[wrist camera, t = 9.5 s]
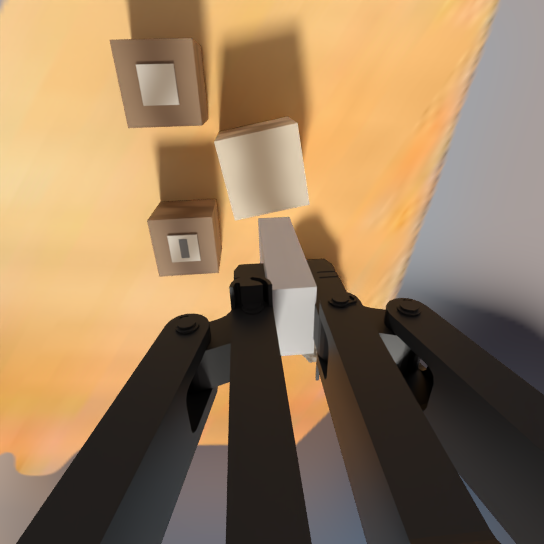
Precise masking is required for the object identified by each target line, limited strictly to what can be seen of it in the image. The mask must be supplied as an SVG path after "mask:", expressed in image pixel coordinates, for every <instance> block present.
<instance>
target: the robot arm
mask: <svg viewBox="0 0 544 544" xmlns="http://www.w3.org/2000/svg"><path fill="white" fill-rule="evenodd" d="M258 225H259V248H260V263H259V264H243V265H239V266H238V267H237V268H236V269H235V270H234V281H233V282H232V283H231V284H230V287H229V288H230V299H231V311H230V313H228V314H227V315H226V316H224V317H222V318H220V319H217V320H214V321H211V322H209V321H208V319H207V318H206V317H204V316H203V315H199V314H184V315H181V316H178V317H176V318H174V319H172V320H170V321H169V322H168V323H167V324H166V326H165V327H164V329H163V330H162V332H161V333H160V334H159V336H158V337H157V339H156V340H155V342H154V343H153V345H152V346H151V348H150V349H149V350H148V352H147V353H146V355H145V356H144V358H143V359H142V361H141V362H140V364H139V365H138V367H137V368H136V369H135V371H134V372H133V374H132V375H131V377H130V378H129V380H128V381H127V383H126V384H125V386H124V387H123V388H122V390H121V391H120V393H119V394H118V396H117V397H116V399H115V400H114V402H113V403H112V405H111V406H110V407H109V409H108V410H107V412H106V413H105V415H104V416H103V418H102V419H101V421H100V422H99V423H98V425H97V426H96V428H95V429H94V431H93V432H92V434H91V435H90V437H89V438H88V440H87V441H86V442H85V444H84V445H83V447H82V448H81V450H80V451H79V453H78V454H77V456H76V457H75V459H74V460H73V462H72V463H71V464H70V466H69V467H68V469H67V470H66V472H65V473H64V475H63V476H62V478H61V479H60V480H59V482H58V483H57V485H56V486H55V488H54V489H53V491H52V492H51V494H50V495H49V497H48V498H47V500H46V501H45V502H44V504H43V505H42V507H41V508H40V510H39V511H38V513H37V514H36V516H35V517H34V518H33V520H32V521H31V523H30V524H29V526H28V527H27V529H26V530H25V532H24V533H23V535H22V536H21V537H20V539H19V540H18V542H17V543H16V544H161V543H162V540H163V537H164V534H165V531H166V529H167V526H168V524H169V521H170V518H171V515H172V513H173V510H174V507H175V505H176V502H177V499H178V496H179V494H180V491H181V488H182V486H183V483H184V480H185V478H186V475H187V472H188V469H189V466H190V464H191V461H192V459H193V456H194V453H195V450H196V448H197V445H198V442H199V440H200V437H201V434H202V431H203V429H204V426H205V423H206V421H207V418H208V415H209V412H210V410H211V407H212V404H213V402H214V399H215V396H216V394H217V389H218V386H219V385H222V384H225V383H228V382H230V392H229V434H228V475H227V517H226V544H312V543H311V537H310V531H309V525H308V519H307V512H306V506H305V500H304V494H303V488H302V482H301V477H300V470H299V464H298V457H297V452H296V445H295V439H294V433H293V427H292V421H291V415H290V409H289V402H288V396H287V390H286V384H285V378H284V372H283V366H282V360H281V356H286V355H299V354H312V353H314V343H315V346H316V349H317V360H316V380H319V375H320V378H321V381H322V385H323V388H324V392H325V396H326V399H327V403H328V406H329V410H330V413H331V417H332V420H333V424H334V428H335V431H336V435H337V438H338V442H339V445H340V449H341V453H342V456H343V459H344V463H345V467H346V470H347V474H348V477H349V481H350V485H351V488H352V491H353V495H354V499H355V503H356V506H357V510H358V513H359V517H360V520H361V524H362V528H363V531H364V535H365V538H366V542H367V544H501V543H500V542H499V541H498V540H497V539H496V538H495V536H494V535H493V533H492V532H491V530H490V529H489V527H488V525H487V523H486V522H485V520H484V518H483V516H482V515H481V513H480V511H479V509H478V508H477V506H476V504H475V502H474V501H473V499H472V497H471V495H470V494H469V492H468V490H467V489H466V486H465V485H464V483H463V481H462V479H461V478H460V476H461V477H462V478H463V479H464V481H465V482H466V483H467V484H468V485H469V487H470V488H471V489H472V490H473V491H474V493H475V494H476V495H477V496H478V498H479V499H480V500H481V501H482V502H483V504H484V505H485V506H486V507H487V508H488V510H489V511H490V512H491V513H492V515H493V516H494V517H495V518H496V519H497V521H498V522H499V523H500V524H501V525H502V527H503V528H504V529H505V530H506V532H507V533H508V534H509V535H510V536H511V538H512V539H513V540H514V541H515V542H516V544H544V395H543V394H542V393H540V392H539V391H538V390H536V389H535V388H534V387H532V386H531V385H530V384H529V383H527V382H526V381H525V380H523V379H522V378H521V377H519V376H518V375H517V374H515V373H514V372H513V371H512V370H510V369H509V368H508V367H506V366H505V365H504V364H502V363H501V362H500V361H498V360H497V359H495V358H494V357H493V356H492V355H490V354H489V353H488V352H487V351H485V350H484V349H482V348H481V347H480V346H479V345H477V344H476V343H475V342H473V341H472V340H471V339H469V338H468V337H467V336H465V335H464V334H463V333H462V332H460V331H459V330H458V329H456V328H455V327H454V326H452V325H451V324H450V323H448V322H447V321H446V320H444V319H443V318H441V317H440V316H439V315H438V314H437V313H435V312H434V311H433V310H431V309H430V308H429V307H427V306H426V305H424V304H422V303H421V302H419V301H416V300H413V299H408V298H398V299H393V300H391V301H389V302H388V303H387V305H386V310H383V309H375V308H369V307H365V306H363V305H362V303H361V301H360V300H359V299H358V298H357V297H356V296H355V295H353V294H351V293H348V292H346V290H345V288H344V286H343V284H342V282H341V280H340V278H339V277H338V275H337V273H336V272H335V269H334V267H333V265H332V264H331V263H329V262H328V261H327V260H325V259H312V260H306V258H305V255H304V253H303V250H302V248H301V245H300V243H299V240H298V238H297V235H296V233H295V230H294V228H293V225H292V223H291V220H290V218H289V217H278V218H258ZM420 359H422V360H423V361H424V362H425V363H426V364H427V365H428V367H427V368H425V367H424V366H423V365H421V363H420ZM458 473H459V474H458ZM459 475H460V476H459Z"/></svg>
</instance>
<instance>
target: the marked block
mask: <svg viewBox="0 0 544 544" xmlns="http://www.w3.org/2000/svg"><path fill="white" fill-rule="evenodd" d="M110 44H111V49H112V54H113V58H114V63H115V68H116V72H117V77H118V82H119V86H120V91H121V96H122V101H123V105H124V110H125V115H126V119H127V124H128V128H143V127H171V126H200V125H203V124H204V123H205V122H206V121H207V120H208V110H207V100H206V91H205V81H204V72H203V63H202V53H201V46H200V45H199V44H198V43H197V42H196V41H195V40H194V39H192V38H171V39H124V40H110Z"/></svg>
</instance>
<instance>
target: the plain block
mask: <svg viewBox="0 0 544 544" xmlns="http://www.w3.org/2000/svg"><path fill="white" fill-rule="evenodd" d="M214 143H215V147H216V151H217V155H218V158H219V162H220V166H221V170H222V173H223V177H224V181H225V185H226V188H227V192H228V196H229V200H230V203H231V207H232V211H233V215H234V218H235V220H240V219H245V218H249V217H254V216H259V215H263V214H268V213H272V212H277V211H282V210H286V209H291V208H296V207H300V206H305V205H309V197H308V190H307V183H306V177H305V170H304V163H303V156H302V150H301V143H300V136H299V129H298V123H297V122H295V121H294V120H292V119H291V118H289V117H288V116H287V117H283V118H278V119H274V120H269V121H265V122H260V123H256V124H251V125H247V126H243V127H238V128H234V129H229V130H225V131H220V132H219V133H218V135H217V137H216V139H215V141H214Z"/></svg>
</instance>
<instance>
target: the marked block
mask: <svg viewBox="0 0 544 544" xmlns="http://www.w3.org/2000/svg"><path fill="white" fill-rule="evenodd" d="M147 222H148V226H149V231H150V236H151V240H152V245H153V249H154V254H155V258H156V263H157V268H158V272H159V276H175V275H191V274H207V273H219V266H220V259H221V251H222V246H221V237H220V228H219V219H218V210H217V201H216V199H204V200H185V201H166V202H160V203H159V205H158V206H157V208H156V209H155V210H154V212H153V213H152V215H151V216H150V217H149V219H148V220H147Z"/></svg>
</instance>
